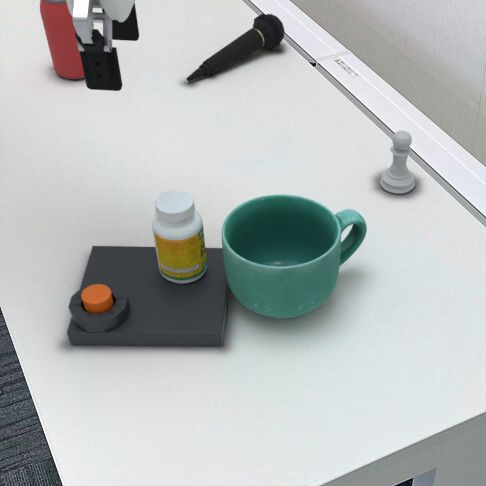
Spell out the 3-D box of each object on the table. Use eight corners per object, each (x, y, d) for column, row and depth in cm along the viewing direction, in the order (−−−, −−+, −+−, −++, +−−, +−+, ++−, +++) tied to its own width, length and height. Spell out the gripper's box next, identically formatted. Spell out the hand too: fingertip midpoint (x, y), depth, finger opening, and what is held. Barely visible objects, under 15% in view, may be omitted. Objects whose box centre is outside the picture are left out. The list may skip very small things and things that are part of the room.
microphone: (199, 104, 121) (289, 48, 129) (200, 77, 116) (293, 20, 124) (175, 82, 122) (266, 28, 130) (175, 54, 116) (269, 0, 125)
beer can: (77, 85, 117) (59, 6, 108) (46, 72, 119) (25, -6, 110) (108, 68, 121) (93, -10, 112) (77, 56, 123) (60, -21, 114)
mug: (246, 345, 83) (242, 280, 76) (213, 271, 90) (206, 206, 83) (386, 308, 88) (394, 243, 81) (343, 241, 95) (347, 177, 88)
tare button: (81, 314, 80) (78, 303, 79) (87, 294, 82) (84, 283, 81) (110, 314, 80) (108, 303, 79) (115, 294, 82) (113, 284, 81)
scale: (70, 344, 82) (63, 321, 79) (95, 257, 91) (89, 234, 88) (222, 346, 82) (220, 323, 80) (231, 260, 92) (230, 237, 89)
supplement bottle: (155, 259, 88) (143, 190, 81) (201, 250, 90) (193, 181, 83) (165, 289, 85) (153, 220, 78) (212, 280, 87) (205, 211, 79)
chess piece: (420, 182, 104) (428, 130, 99) (403, 199, 102) (409, 146, 96) (391, 170, 106) (396, 118, 100) (373, 186, 103) (377, 133, 97)
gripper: (108, -96, 57) (139, 112, 70) (144, -165, 68) (165, 24, 81) (4, -102, 56) (54, 108, 69) (58, -171, 68) (93, 20, 81)
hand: (114, 62), depth 75 cm, fingers open, 9 cm apart
